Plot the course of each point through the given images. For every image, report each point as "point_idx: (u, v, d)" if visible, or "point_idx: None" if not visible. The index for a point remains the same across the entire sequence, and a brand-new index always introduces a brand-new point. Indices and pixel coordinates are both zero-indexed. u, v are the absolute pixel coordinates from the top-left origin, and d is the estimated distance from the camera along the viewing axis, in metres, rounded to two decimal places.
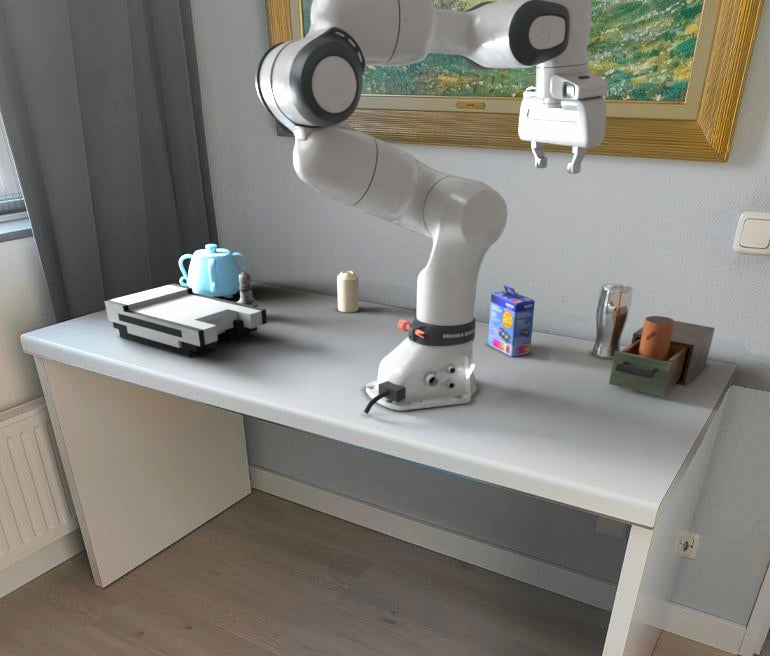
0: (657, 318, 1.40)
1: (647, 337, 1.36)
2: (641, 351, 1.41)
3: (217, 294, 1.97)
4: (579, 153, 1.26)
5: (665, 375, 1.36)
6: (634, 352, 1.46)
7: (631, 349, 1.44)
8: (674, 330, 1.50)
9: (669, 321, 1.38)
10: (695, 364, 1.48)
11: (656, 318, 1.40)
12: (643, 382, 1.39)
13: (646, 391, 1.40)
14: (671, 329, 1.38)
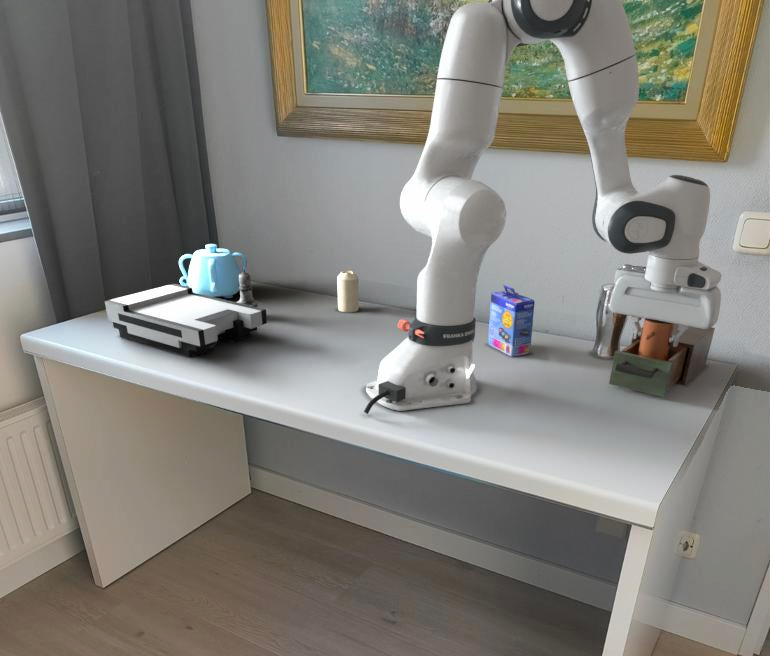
0: None
1: (647, 337, 1.36)
2: (641, 351, 1.41)
3: (217, 294, 1.97)
4: (685, 330, 1.36)
5: (665, 375, 1.36)
6: (634, 352, 1.46)
7: (631, 349, 1.44)
8: (674, 330, 1.50)
9: None
10: (695, 364, 1.48)
11: None
12: (643, 382, 1.39)
13: (646, 391, 1.40)
14: (671, 329, 1.38)
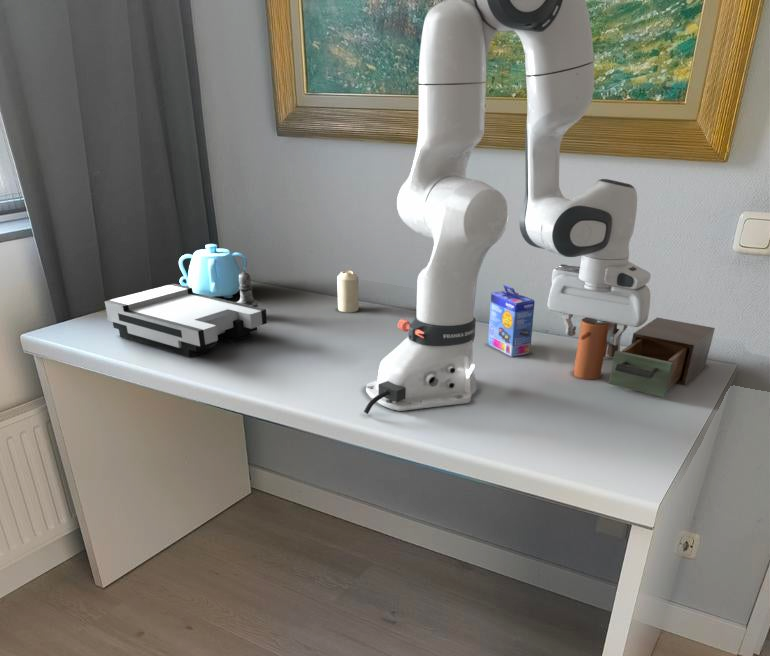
0: (593, 319, 1.45)
1: (582, 337, 1.42)
2: (579, 350, 1.47)
3: (217, 294, 1.97)
4: (624, 329, 1.41)
5: (665, 375, 1.36)
6: (634, 352, 1.46)
7: (631, 349, 1.44)
8: (674, 330, 1.50)
9: (603, 322, 1.43)
10: (695, 364, 1.48)
11: (592, 319, 1.45)
12: (643, 382, 1.39)
13: (646, 391, 1.40)
14: (606, 330, 1.43)
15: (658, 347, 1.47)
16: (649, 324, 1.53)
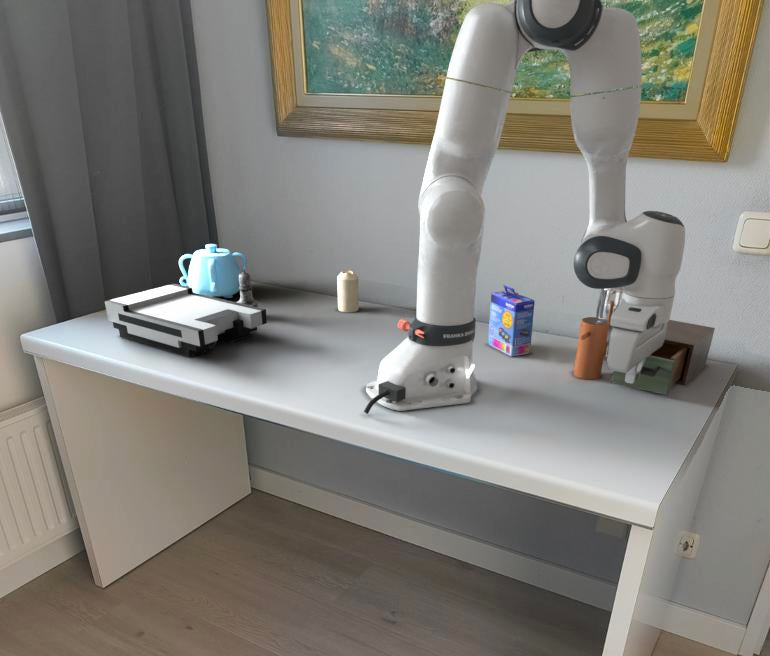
0: (593, 319, 1.45)
1: (582, 337, 1.42)
2: (579, 350, 1.47)
3: (217, 294, 1.97)
4: None
5: (667, 373, 1.37)
6: None
7: None
8: (674, 330, 1.50)
9: (603, 322, 1.43)
10: (695, 364, 1.48)
11: (592, 319, 1.45)
12: (645, 380, 1.40)
13: (648, 389, 1.41)
14: (606, 330, 1.43)
15: None
16: None
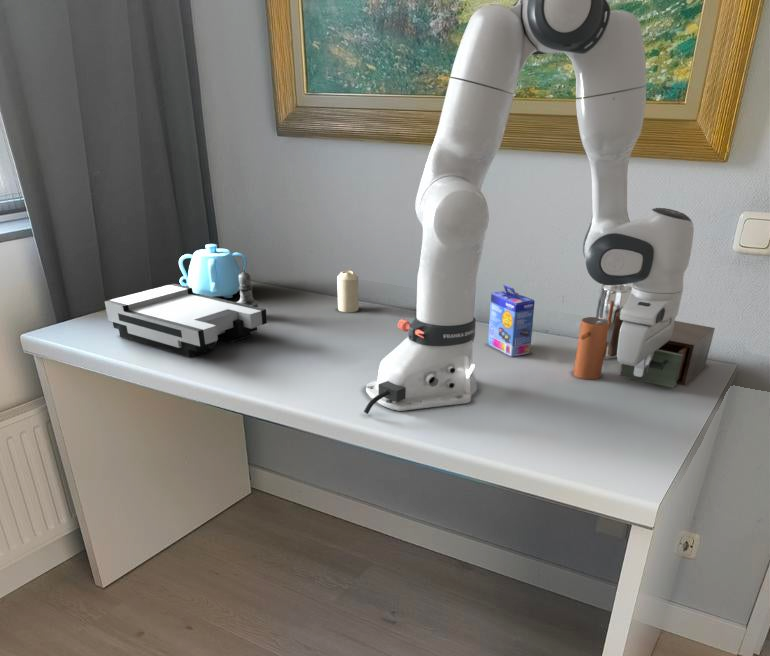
0: (593, 319, 1.45)
1: (582, 337, 1.42)
2: (579, 350, 1.47)
3: (217, 294, 1.97)
4: None
5: (675, 366, 1.40)
6: None
7: None
8: (674, 330, 1.50)
9: (603, 322, 1.43)
10: (695, 364, 1.48)
11: (592, 319, 1.45)
12: (653, 374, 1.43)
13: (656, 382, 1.44)
14: (606, 330, 1.43)
15: None
16: None
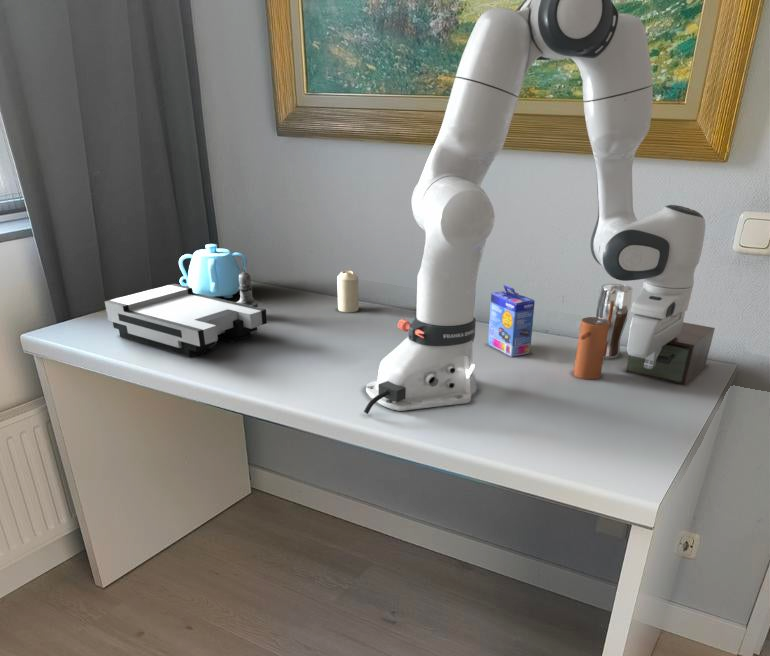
0: (593, 319, 1.45)
1: (582, 337, 1.42)
2: (579, 350, 1.47)
3: (217, 294, 1.97)
4: None
5: (681, 361, 1.43)
6: None
7: None
8: None
9: (603, 322, 1.43)
10: (695, 364, 1.48)
11: (592, 319, 1.45)
12: (660, 368, 1.46)
13: (663, 376, 1.47)
14: (606, 330, 1.43)
15: None
16: None
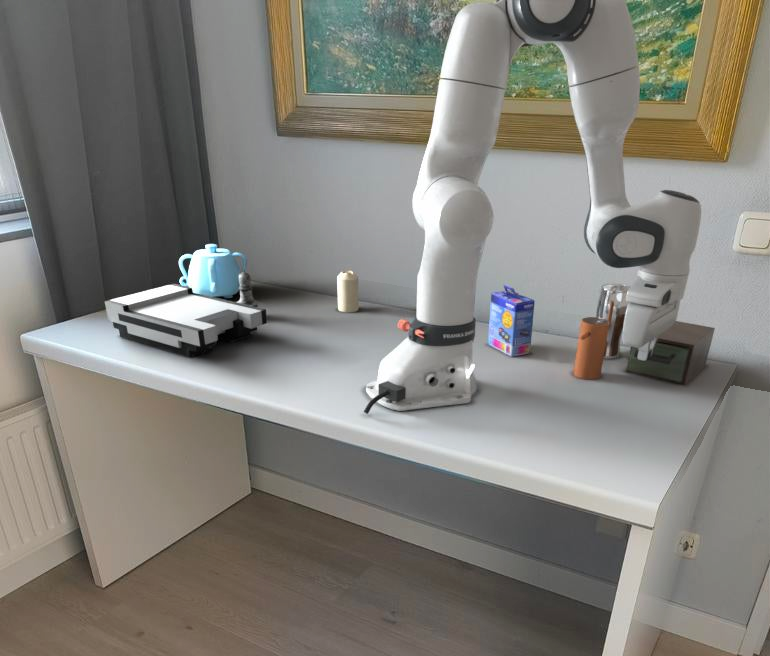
0: (593, 319, 1.45)
1: (582, 337, 1.42)
2: (579, 350, 1.47)
3: (217, 294, 1.97)
4: None
5: (681, 361, 1.43)
6: None
7: None
8: (674, 330, 1.50)
9: (603, 322, 1.43)
10: (695, 364, 1.48)
11: (592, 319, 1.45)
12: (660, 368, 1.46)
13: (663, 376, 1.47)
14: (606, 330, 1.43)
15: None
16: None
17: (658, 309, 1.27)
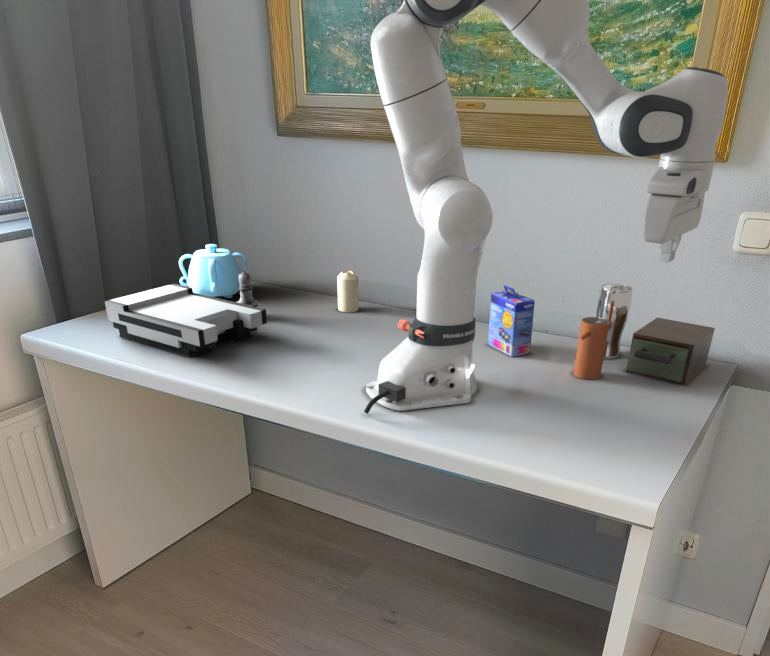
0: (593, 319, 1.45)
1: (582, 337, 1.42)
2: (579, 350, 1.47)
3: (217, 294, 1.97)
4: (662, 243, 1.27)
5: (681, 361, 1.43)
6: (651, 340, 1.53)
7: None
8: (674, 330, 1.50)
9: (603, 322, 1.43)
10: (695, 364, 1.48)
11: (592, 319, 1.45)
12: (660, 368, 1.46)
13: (663, 376, 1.47)
14: (606, 330, 1.43)
15: None
16: (649, 324, 1.53)
17: (683, 199, 1.18)
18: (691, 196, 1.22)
